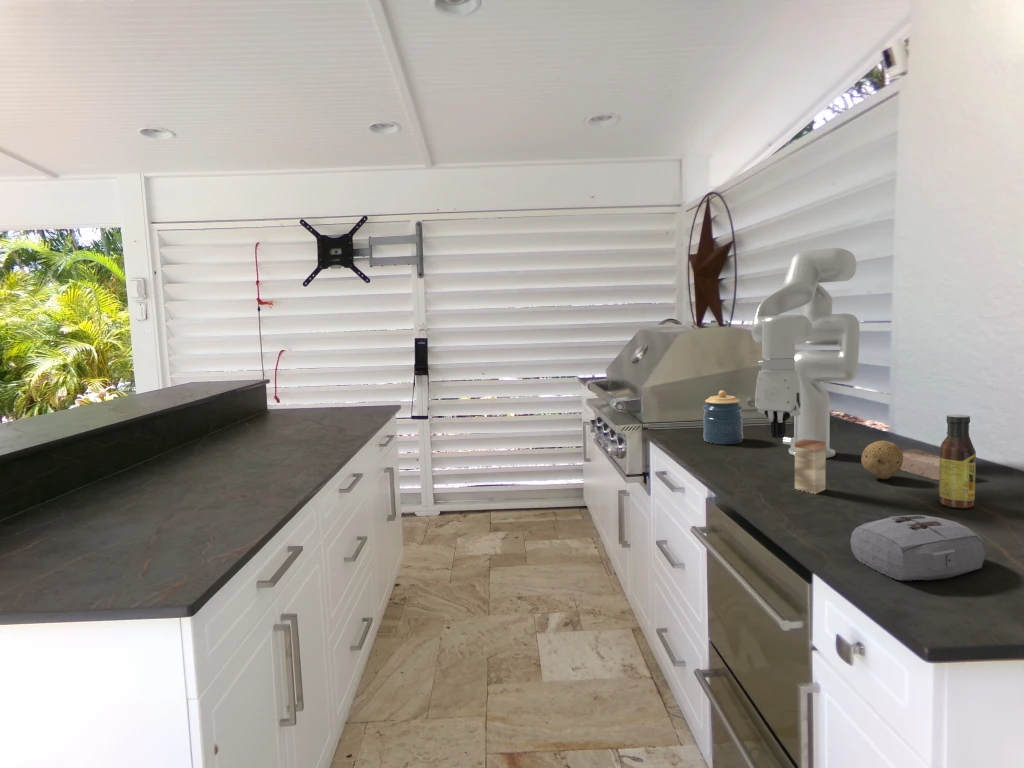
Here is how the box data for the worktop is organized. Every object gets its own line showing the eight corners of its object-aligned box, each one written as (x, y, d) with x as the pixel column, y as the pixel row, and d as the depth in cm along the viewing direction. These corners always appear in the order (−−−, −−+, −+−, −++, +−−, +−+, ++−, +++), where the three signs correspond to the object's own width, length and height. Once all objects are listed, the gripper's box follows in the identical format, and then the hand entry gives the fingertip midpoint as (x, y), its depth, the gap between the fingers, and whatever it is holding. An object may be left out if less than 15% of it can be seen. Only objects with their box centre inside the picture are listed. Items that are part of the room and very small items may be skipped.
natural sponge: (880, 485, 144) (880, 446, 143) (852, 476, 152) (853, 439, 151) (911, 481, 146) (912, 442, 144) (882, 472, 154) (882, 435, 153)
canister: (699, 443, 199) (698, 392, 197) (708, 436, 210) (707, 387, 208) (739, 446, 192) (738, 393, 190) (746, 438, 203) (745, 388, 201)
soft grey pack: (908, 592, 92) (1011, 574, 96) (910, 541, 91) (1013, 525, 95) (837, 555, 107) (929, 540, 110) (838, 511, 106) (930, 498, 109)
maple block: (794, 489, 144) (794, 442, 143) (805, 485, 147) (805, 438, 146) (815, 494, 140) (815, 445, 139) (825, 489, 143) (825, 441, 142)
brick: (973, 480, 145) (973, 461, 144) (945, 483, 143) (945, 465, 143) (914, 465, 161) (915, 448, 161) (889, 468, 159) (889, 451, 159)
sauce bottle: (976, 511, 123) (979, 419, 121) (940, 507, 127) (942, 417, 125) (972, 502, 129) (975, 413, 127) (937, 498, 132) (939, 412, 130)
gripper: (742, 365, 151) (743, 435, 152) (799, 367, 139) (799, 443, 140) (759, 363, 155) (759, 431, 157) (815, 365, 143) (815, 438, 145)
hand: (778, 437), depth 149 cm, fingers closed
